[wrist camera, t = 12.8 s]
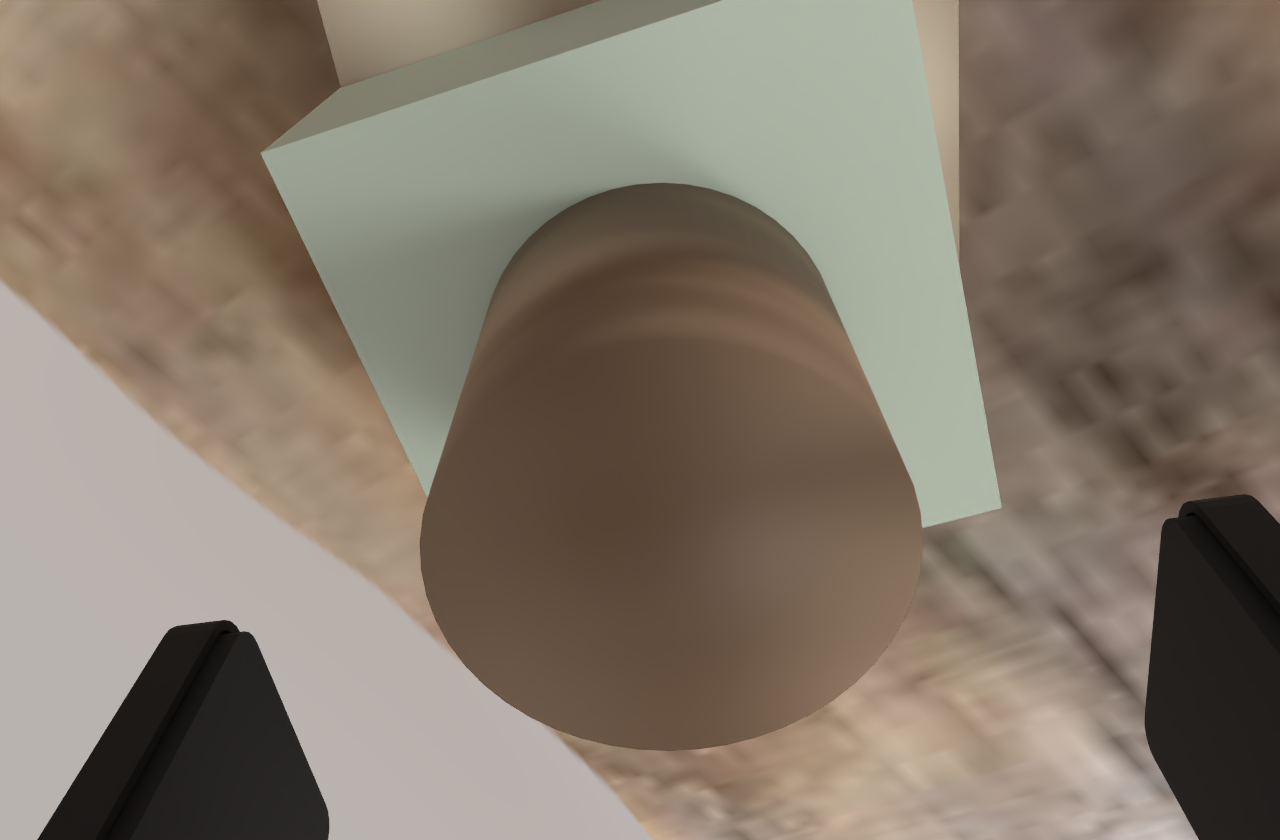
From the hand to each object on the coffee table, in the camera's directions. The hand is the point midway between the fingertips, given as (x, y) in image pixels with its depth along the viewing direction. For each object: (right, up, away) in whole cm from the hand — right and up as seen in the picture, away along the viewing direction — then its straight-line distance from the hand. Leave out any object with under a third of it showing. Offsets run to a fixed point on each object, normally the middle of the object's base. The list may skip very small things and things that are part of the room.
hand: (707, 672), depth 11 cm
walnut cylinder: (0, +4, +7) cm, 8 cm away
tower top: (0, +6, +11) cm, 13 cm away
